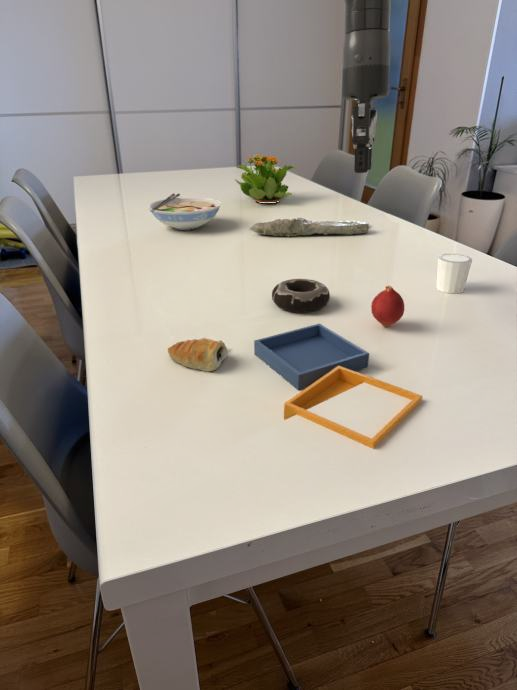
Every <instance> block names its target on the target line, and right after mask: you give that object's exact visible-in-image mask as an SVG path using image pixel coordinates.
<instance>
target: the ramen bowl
mask: <svg viewBox="0 0 517 690" xmlns="http://www.w3.org/2000/svg"><path fill="white" fill-rule="evenodd" d="M221 205H222V202H221V201H220V200H218V199H216V198H215V199H214V198H208V197H197V196H196V197H195V196H191V197H181V194H180V193H177V194H176V193H171V194H170V195H169V196H168V197H166V198H165V199H160V200H156V201H153V202H150V203H149V204H148V205H147V208H148V209H149V211H150V213H151V214H152V215H153V216H154V217H155V219H157V220H158V221H159V223H161V224H163V225H165V226H168V227H171V228H174V229H176V230H178V231H192V230H196V229H198V228H199V227H202V226H203V225H205V224H207V223H209V222H211V221H212V220H213V219H214V218H216V215H217V214H218V212H219V210H220V208H221ZM195 228H196V229H195ZM191 229H192V230H191Z"/></svg>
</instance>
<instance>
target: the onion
mask: <svg viewBox="0 0 517 690" xmlns="http://www.w3.org/2000/svg"><path fill="white" fill-rule="evenodd" d="M370 308H371V315H372V317H373V318H374V319H375V320H376V321H377V322H378V323H380V324H381V326H382V327H384V328H388V327H390V326H393V325H394V324H397V323H398V321H399V320H401V319H402V317H403V315H404V313H405V301H404V299H403V296H401V294H400V293H399V292H397V290H395V289H394V287H393V286H391V285H386V286H385V289H384V290H382V291H379V293H377V295H375V296H374V298H373V299H372V301H371V305H370Z"/></svg>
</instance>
